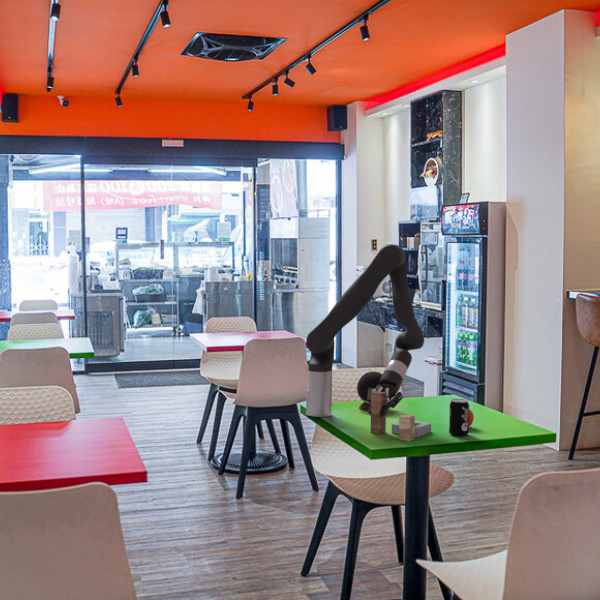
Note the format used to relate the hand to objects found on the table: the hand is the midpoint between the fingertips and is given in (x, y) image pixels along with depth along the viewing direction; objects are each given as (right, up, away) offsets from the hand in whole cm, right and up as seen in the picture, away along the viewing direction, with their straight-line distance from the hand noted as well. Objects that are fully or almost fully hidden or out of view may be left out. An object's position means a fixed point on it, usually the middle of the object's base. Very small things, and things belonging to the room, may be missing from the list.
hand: (375, 414), depth 273 cm
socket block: (+13, -7, +3) cm, 15 cm away
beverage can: (+29, -7, 0) cm, 30 cm away
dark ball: (+3, -4, +44) cm, 44 cm away
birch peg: (+10, -7, -7) cm, 14 cm away
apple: (+32, -6, +11) cm, 35 cm away
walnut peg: (+1, -6, +2) cm, 7 cm away
